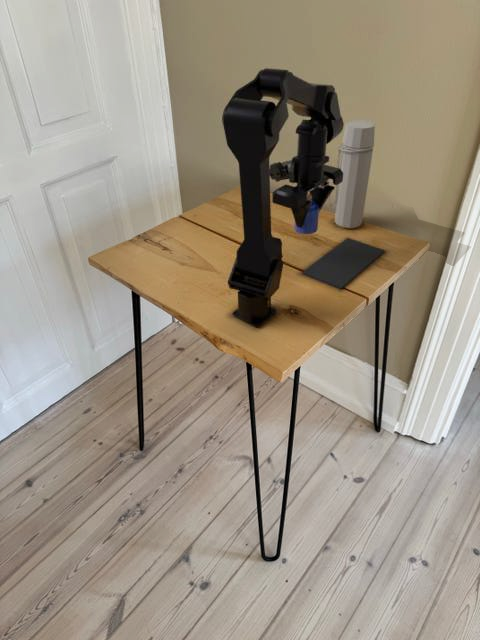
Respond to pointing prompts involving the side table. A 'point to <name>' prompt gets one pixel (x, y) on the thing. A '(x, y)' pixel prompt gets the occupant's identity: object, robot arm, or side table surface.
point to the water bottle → (354, 173)
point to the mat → (343, 263)
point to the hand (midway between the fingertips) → (306, 222)
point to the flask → (310, 219)
